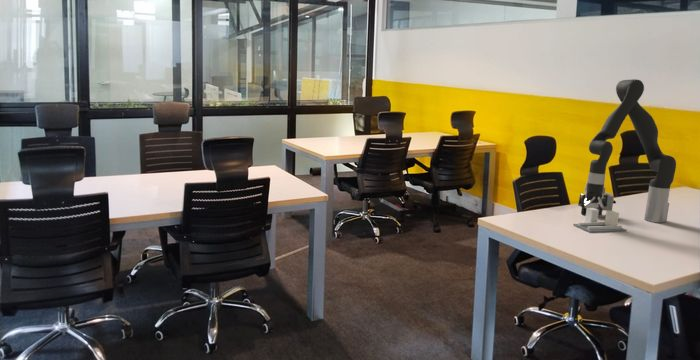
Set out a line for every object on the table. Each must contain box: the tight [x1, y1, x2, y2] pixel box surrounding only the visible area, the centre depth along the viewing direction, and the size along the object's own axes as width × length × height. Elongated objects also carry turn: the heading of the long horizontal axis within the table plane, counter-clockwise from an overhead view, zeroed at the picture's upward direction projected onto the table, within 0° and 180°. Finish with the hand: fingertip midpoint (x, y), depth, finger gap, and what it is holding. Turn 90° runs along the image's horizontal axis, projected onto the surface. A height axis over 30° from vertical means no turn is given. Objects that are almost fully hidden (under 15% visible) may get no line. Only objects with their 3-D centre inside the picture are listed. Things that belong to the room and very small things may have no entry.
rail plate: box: [573, 210, 628, 234], centre depth 284 cm, size 20×12×8 cm, turn 106°
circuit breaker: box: [584, 183, 617, 218], centre depth 308 cm, size 8×14×15 cm, turn 78°
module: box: [584, 208, 599, 222], centre depth 293 cm, size 4×5×7 cm
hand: (591, 215), depth 293 cm, fingers open, 8 cm apart
